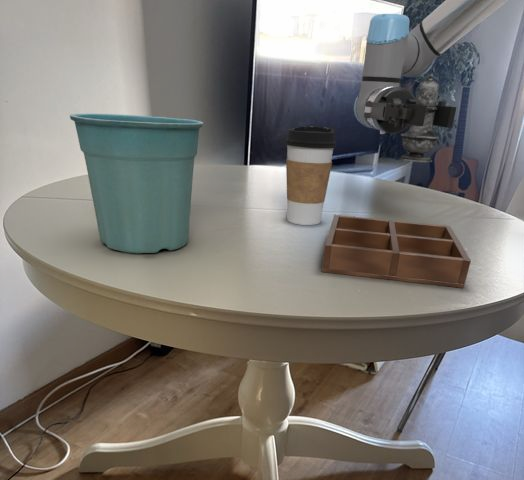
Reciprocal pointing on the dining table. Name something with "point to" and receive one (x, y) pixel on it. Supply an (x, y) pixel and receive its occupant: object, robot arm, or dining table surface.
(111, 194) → the flower pot
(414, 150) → the salt shaker
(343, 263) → the tray
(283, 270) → the dining table surface
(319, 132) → the coffee cup
